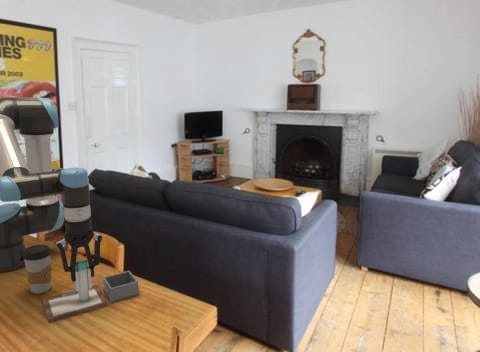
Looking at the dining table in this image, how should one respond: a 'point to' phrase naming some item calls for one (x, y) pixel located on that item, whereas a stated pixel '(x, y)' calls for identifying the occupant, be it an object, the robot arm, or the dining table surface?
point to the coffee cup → (38, 268)
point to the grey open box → (120, 286)
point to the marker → (83, 280)
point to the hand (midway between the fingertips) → (83, 287)
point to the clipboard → (72, 304)
